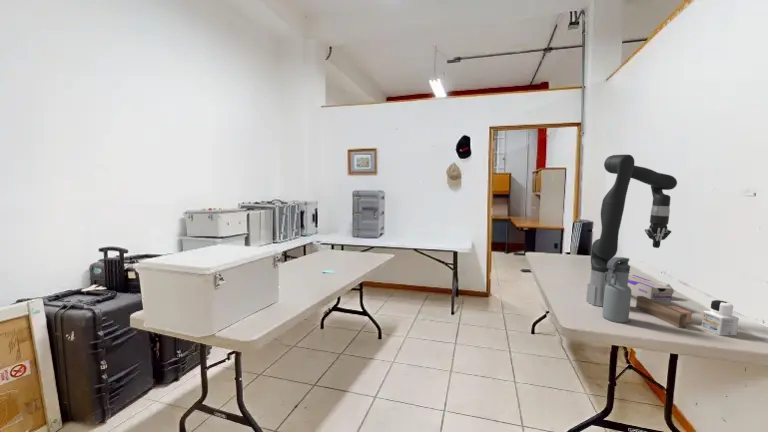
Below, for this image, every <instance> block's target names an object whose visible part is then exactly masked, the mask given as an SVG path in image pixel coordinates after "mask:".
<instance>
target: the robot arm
mask: <svg viewBox="0 0 768 432" xmlns="http://www.w3.org/2000/svg"><path fill="white" fill-rule="evenodd" d="M603 167H604V169H605V171H606V172H607V173H610V174H614V175H616V174H617V175H616V179H615V182H614V184H613V186H612V187H611V188H610V189H609V191H607V193H606V194H605V196H604V197H603V199H602V202H601V203H602V204H601V208H600V221H601V224H600V225H601V233H600V237H599V238H598V239H596V240H594V241H593V243H592V245H591V252H590V266H591V268H590V278H589V283H587V291H586V301H585V302H587V303H588V304H590V305H592V306H596V307H597V306H598V307H602V308H603V303H604V294H605V286H606V285H607V284H608V283H605V282H604V275H605V272H608V269H609V268H607V263H608V261H609V260H610V259H612V258H614V257H615V256H616V254H617V253H618V248H619V247H618V246H619V235H620V234H619V233H620V230H621V229H620V228H621V224H622V220H623V214H624V210H625V204H626V198H627V193H628V188H629V185H630V182H631V179H633V180H635V181H638V182H641V183H643V184H646V185H649V186H650V190H651V193H652V195H651V196H652V205H651V210H650V216H649V217H650V218H649V223H650V225H649V227H648V228H646V229H644V232H645V234H646V236H648V238H649V239H650V240H652V247H653V248H655V249H659V248H660V247H661V241H665V240H666V239H667V238H668V236H670V235H671V234H672V230H670V229H668V225H669V221H670V211H671V209H670V205H671V196H670V195H669V194H667V193H666V194H665V193H664V191H670V190H673V189H675V188H676V187H677V185H678V180H677V178H676V177H675V176H673V175H671V174H666V173H662V172H657V171H655V170H653V169H650V168H647V167H643V166H638V165H636V164H635V157H633V155H631V154H612V155H610V156H609V155H608V157H607V158H606V159H605V161H604V163H603ZM610 277H611V274H609V273H607V277H606V280H607V282H609V283H610Z"/></svg>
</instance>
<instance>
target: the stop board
mask: <svg viewBox="0 0 768 432" xmlns="http://www.w3.org/2000/svg"><path fill="white" fill-rule="evenodd" d="M635 303H636V304H635V308H636V309H638V310H640V311H643V312H645V313H647V314H650V315H651V316H653V317H655V318H656V319H659V320H661V321H664V322H666V323H668V324H669V325H672V326H674V327H676V328H678V329H679V328H680V329H683V328H684V329H685V328H686V325H687V323H686V319H687V314H685V313H683V312H680V311H678V310H675V309H673V308H671V307H668V306H666V305H663V304H661V303H659V302H656V301H654V300H651V299H649V298H647V297H644V296H637V302H635Z"/></svg>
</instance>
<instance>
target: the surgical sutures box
mask: <svg viewBox="0 0 768 432" xmlns="http://www.w3.org/2000/svg"><path fill="white" fill-rule="evenodd" d="M659 283H660V282H655V281H652V280H650V279H647V278H645V277H643V276H639V275H635V274H629V277H628V287H630V289H631V302H632V301H633V302H635V303H636V302H637V296H644V297H647V298H649V299H651V300H654V301H656V302H659V303H661V304H663V305H666V306H672V298H673V294H672V291H673V290H674V288H673V287H672V288H670V287H667V286H664V285H662V284H659Z"/></svg>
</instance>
